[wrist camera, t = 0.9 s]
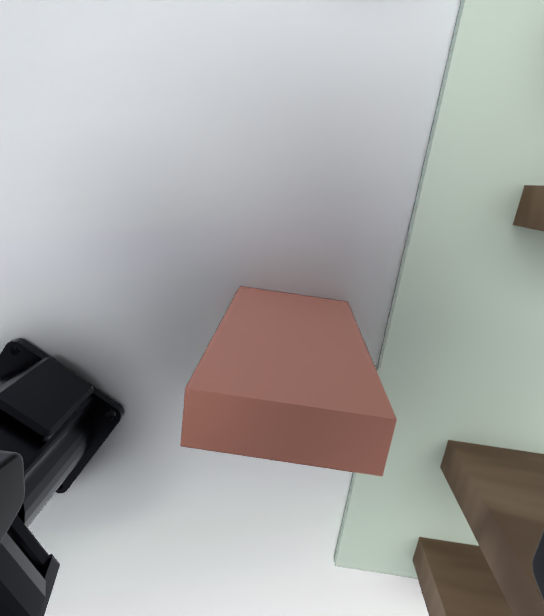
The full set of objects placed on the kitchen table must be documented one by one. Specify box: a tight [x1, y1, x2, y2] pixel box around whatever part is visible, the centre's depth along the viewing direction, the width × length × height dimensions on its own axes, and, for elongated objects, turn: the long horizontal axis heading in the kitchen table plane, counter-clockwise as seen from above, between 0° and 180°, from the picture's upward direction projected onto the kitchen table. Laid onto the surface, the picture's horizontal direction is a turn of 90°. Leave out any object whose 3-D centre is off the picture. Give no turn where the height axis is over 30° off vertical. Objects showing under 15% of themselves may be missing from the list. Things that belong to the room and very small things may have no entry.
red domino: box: [181, 286, 397, 477], centre depth 15 cm, size 2×5×10 cm, turn 82°
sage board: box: [334, 0, 544, 579], centre depth 19 cm, size 28×13×1 cm, turn 172°
